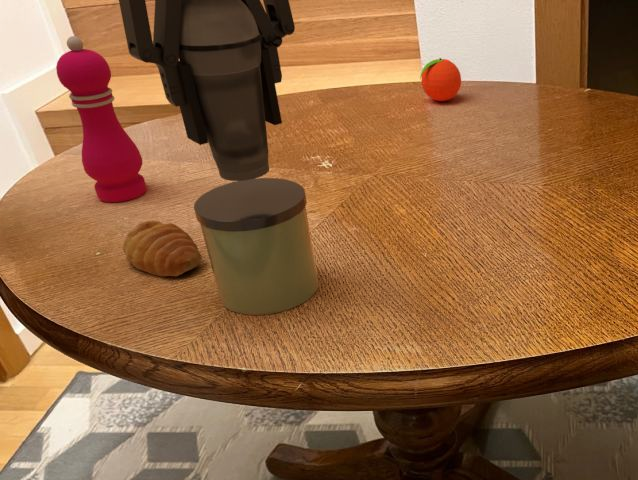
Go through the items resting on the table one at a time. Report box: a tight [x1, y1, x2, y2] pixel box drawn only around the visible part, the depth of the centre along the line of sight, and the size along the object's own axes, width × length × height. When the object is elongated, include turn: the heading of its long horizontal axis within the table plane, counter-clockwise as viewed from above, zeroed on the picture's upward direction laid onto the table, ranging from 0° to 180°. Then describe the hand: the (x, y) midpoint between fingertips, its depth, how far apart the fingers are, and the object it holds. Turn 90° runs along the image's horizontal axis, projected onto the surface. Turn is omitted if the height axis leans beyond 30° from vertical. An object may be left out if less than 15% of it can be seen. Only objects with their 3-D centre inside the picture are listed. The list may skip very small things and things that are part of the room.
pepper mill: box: [55, 35, 148, 203], centre depth 93 cm, size 7×7×20 cm
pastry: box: [122, 220, 202, 277], centre depth 80 cm, size 9×7×4 cm
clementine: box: [419, 57, 462, 102], centre depth 126 cm, size 8×7×7 cm
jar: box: [193, 177, 319, 316], centre depth 72 cm, size 10×10×10 cm
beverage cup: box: [179, 0, 270, 182], centre depth 63 cm, size 7×7×20 cm
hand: (235, 130), depth 66 cm, fingers closed on beverage cup, 6 cm apart
